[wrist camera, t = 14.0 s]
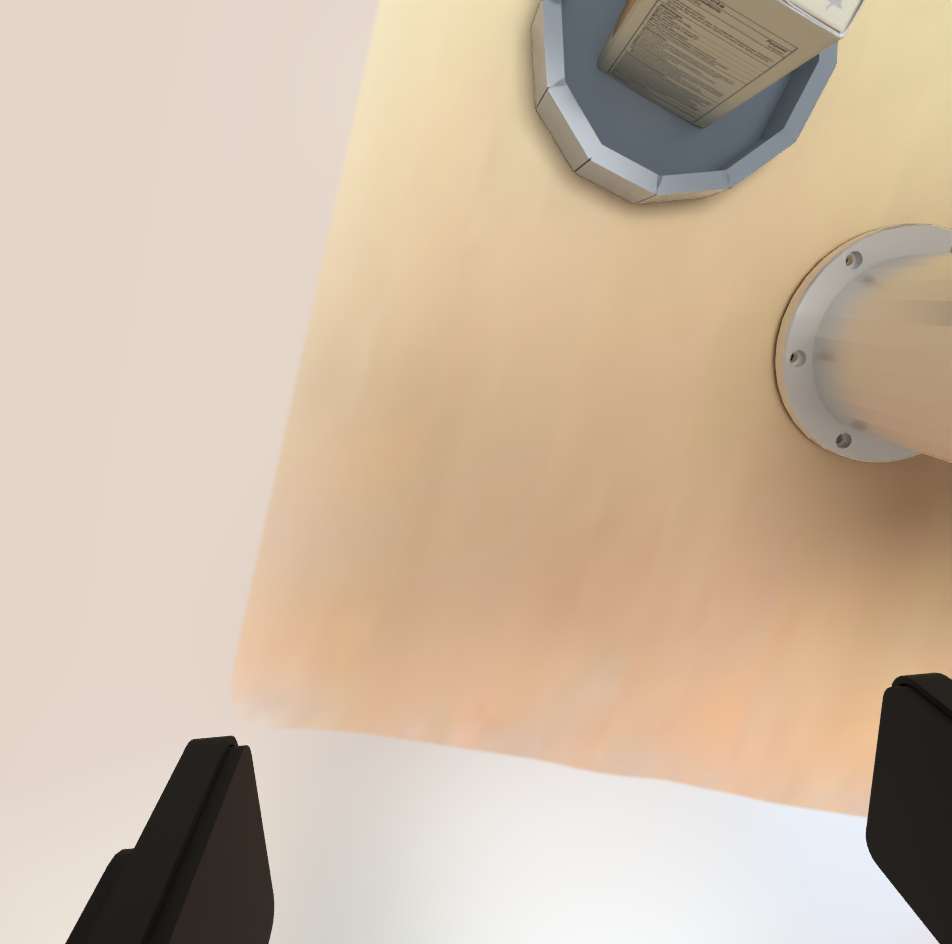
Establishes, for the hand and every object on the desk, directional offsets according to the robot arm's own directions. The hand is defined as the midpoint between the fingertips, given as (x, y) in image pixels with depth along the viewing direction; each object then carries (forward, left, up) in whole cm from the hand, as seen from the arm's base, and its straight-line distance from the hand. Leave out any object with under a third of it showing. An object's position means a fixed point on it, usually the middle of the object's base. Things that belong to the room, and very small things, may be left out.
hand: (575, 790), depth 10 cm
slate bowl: (-11, -17, -28) cm, 35 cm away
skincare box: (-11, -17, -27) cm, 34 cm away
